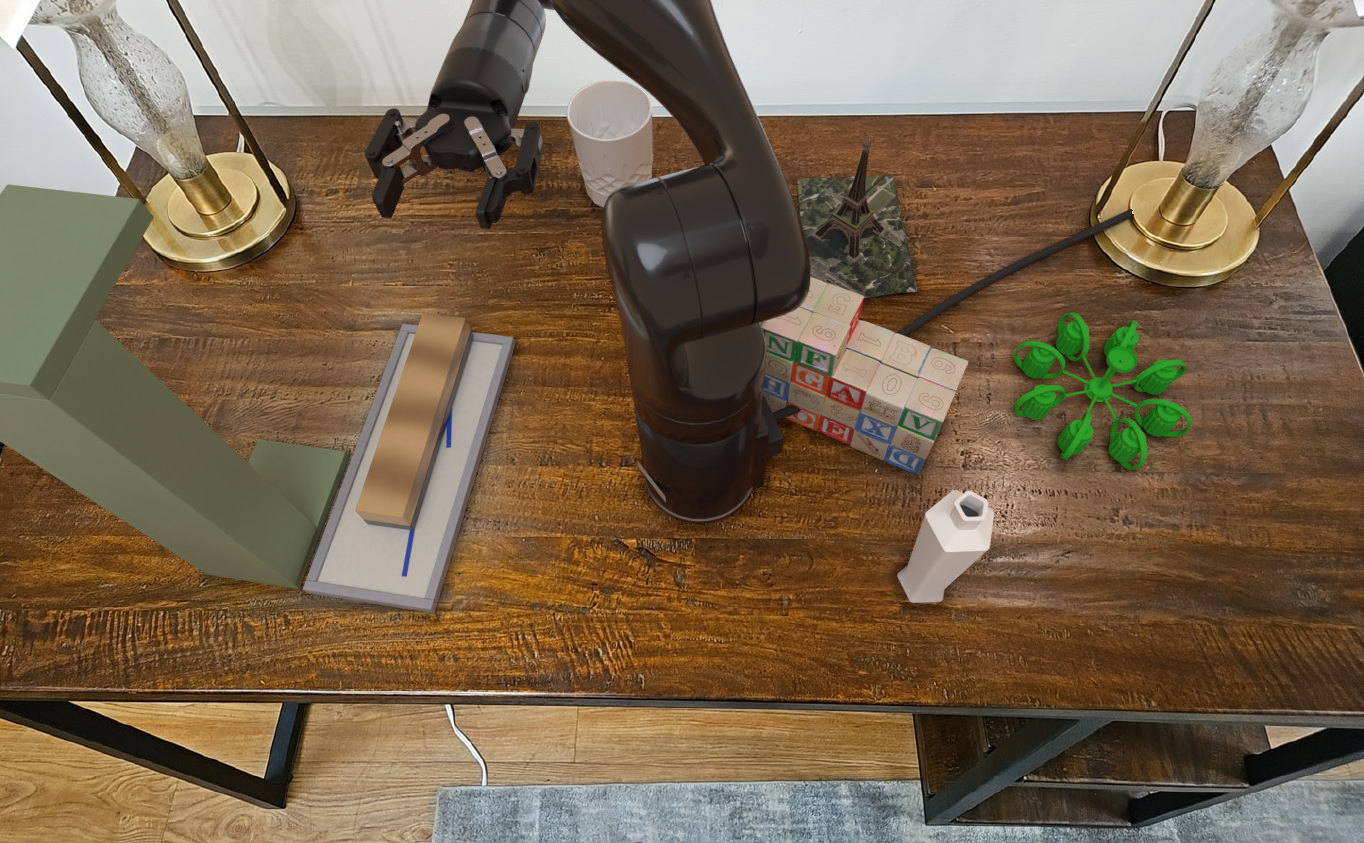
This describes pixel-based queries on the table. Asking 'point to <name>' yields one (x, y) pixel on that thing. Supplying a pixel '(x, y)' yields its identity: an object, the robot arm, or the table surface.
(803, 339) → the stack of blocks
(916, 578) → the white faceted vase
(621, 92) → the white cup
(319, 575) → the whiteboard
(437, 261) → the table surface
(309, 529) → the green bent block
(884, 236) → the eiffel tower figurine
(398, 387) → the eraser
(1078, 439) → the chandelier
